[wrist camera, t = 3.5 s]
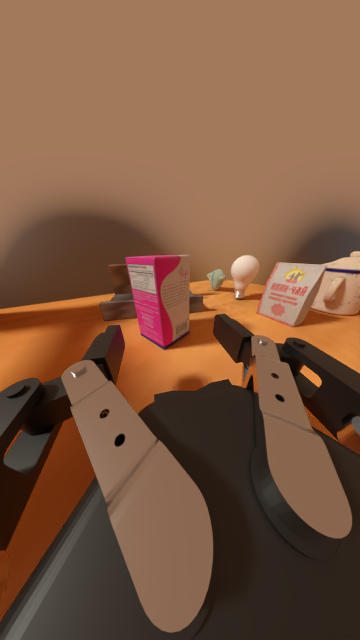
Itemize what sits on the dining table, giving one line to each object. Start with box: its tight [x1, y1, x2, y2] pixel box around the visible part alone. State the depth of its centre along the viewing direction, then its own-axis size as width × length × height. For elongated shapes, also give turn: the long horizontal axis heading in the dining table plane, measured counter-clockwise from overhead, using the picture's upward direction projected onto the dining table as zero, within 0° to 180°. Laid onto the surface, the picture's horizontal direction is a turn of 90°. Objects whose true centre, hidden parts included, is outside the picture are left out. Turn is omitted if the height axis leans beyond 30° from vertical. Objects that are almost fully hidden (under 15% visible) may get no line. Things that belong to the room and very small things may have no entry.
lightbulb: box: [231, 255, 259, 299], centre depth 33 cm, size 6×6×11 cm
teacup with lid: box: [311, 252, 360, 315], centre depth 26 cm, size 12×9×12 cm
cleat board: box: [99, 265, 203, 321], centre depth 30 cm, size 20×13×9 cm, turn 102°
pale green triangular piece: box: [207, 269, 226, 290], centre depth 43 cm, size 8×4×7 cm, turn 26°
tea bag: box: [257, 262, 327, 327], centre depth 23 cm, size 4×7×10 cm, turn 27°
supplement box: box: [126, 255, 190, 350], centre depth 18 cm, size 6×6×11 cm
